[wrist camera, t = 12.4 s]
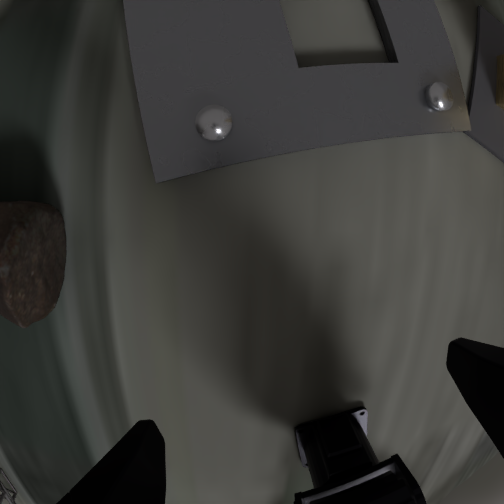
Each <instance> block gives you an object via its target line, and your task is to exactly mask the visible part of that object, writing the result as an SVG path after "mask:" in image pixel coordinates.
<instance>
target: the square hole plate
mask: <svg viewBox="0 0 504 504" xmlns="http://www.w3.org/2000/svg"><path fill="white" fill-rule="evenodd" d="M368 1H369V3H370V6H371V9H372V11H373V14H374V17H375V20H376V22H377V25H378V28H379V31H380V34H381V37H382V40H383V43H384V47H385V50H386V53H387V57H388V60H389V63H357V64H338V65H324V66H313V67H303V68H299V67H298V64H297V60H296V56H295V53H294V49H293V45H292V42H291V38H290V35H289V31H288V28H287V25H286V21H285V18H284V15H283V11H282V8H281V5H280V2H279V0H123V4H124V13H125V21H126V28H127V36H128V43H129V49H130V56H131V62H132V68H133V74H134V80H135V86H136V91H137V97H138V102H139V107H140V113H141V118H142V123H143V128H144V132H145V137H146V142H147V146H148V151H149V156H150V160H151V164H152V169H153V173H154V177H155V182H156V183H160V182H164V181H167V180H171V179H175V178H179V177H183V176H186V175H190V174H194V173H198V172H202V171H207V170H211V169H215V168H219V167H223V166H228V165H232V164H237V163H241V162H246V161H251V160H255V159H260V158H265V157H270V156H275V155H280V154H286V153H291V152H297V151H302V150H308V149H314V148H320V147H326V146H332V145H339V144H345V143H352V142H359V141H367V140H375V139H383V138H391V137H400V136H410V135H420V134H432V133H445V132H460V131H471V126H470V120H469V115H468V110H467V105H466V101H465V96H464V92H463V88H462V84H461V80H460V76H459V72H458V69H457V65H456V62H455V58H454V55H453V52H452V49H451V45H450V42H449V39H448V36H447V34H446V31H445V28H444V25H443V22H442V20H441V17H440V15H439V12H438V10H437V7H436V5H435V2H434V0H368Z"/></svg>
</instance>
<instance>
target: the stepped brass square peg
mask: <svg viewBox="0 0 504 504" xmlns="http://www.w3.org/2000/svg"><path fill="white" fill-rule="evenodd" d="M496 105H498V106H499V107H500V108H502V109H503V110H504V54H502V55H499V56H497V86H496Z"/></svg>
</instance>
